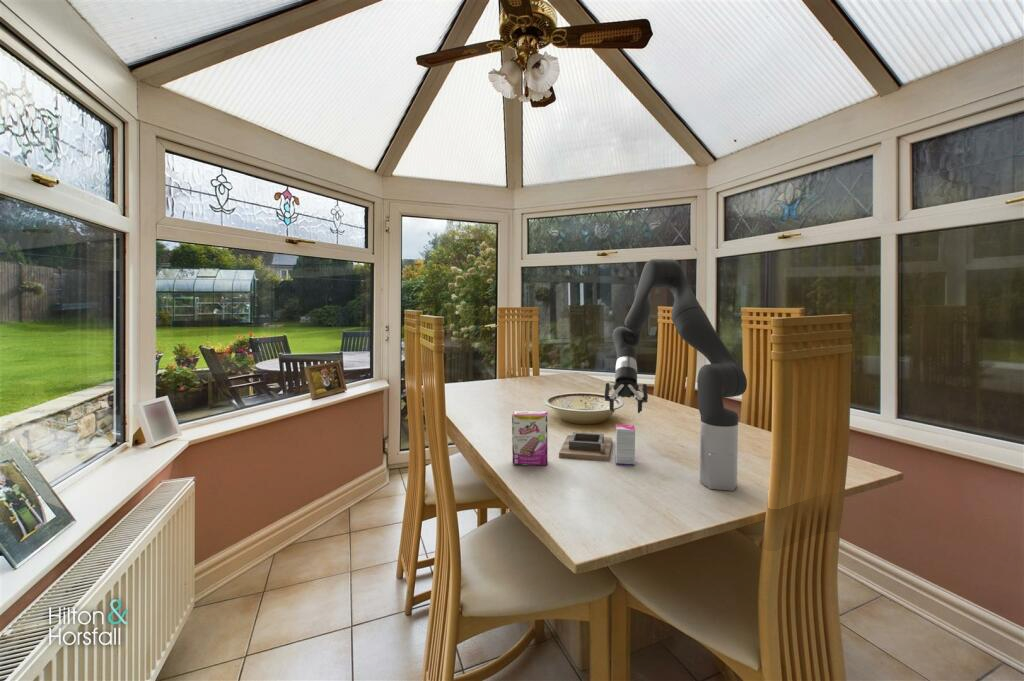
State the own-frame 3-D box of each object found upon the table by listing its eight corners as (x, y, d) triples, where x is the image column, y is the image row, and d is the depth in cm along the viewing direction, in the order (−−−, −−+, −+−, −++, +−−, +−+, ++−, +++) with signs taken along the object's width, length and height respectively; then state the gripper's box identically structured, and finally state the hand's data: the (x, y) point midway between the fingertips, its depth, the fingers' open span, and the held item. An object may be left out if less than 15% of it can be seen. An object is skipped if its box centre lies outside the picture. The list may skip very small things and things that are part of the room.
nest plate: (608, 461, 137) (608, 447, 136) (559, 457, 141) (558, 443, 141) (611, 441, 156) (611, 429, 156) (568, 438, 160) (567, 427, 160)
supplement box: (635, 466, 132) (635, 429, 131) (615, 465, 133) (615, 429, 132) (634, 459, 138) (633, 424, 137) (615, 458, 139) (614, 424, 138)
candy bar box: (512, 465, 135) (511, 414, 133) (513, 460, 140) (512, 410, 138) (548, 466, 134) (547, 414, 132) (548, 460, 138) (547, 410, 137)
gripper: (605, 365, 153) (603, 404, 143) (647, 366, 149) (648, 406, 139) (606, 377, 158) (604, 416, 148) (646, 378, 154) (647, 418, 144)
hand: (625, 411), depth 143 cm, fingers open, 8 cm apart
